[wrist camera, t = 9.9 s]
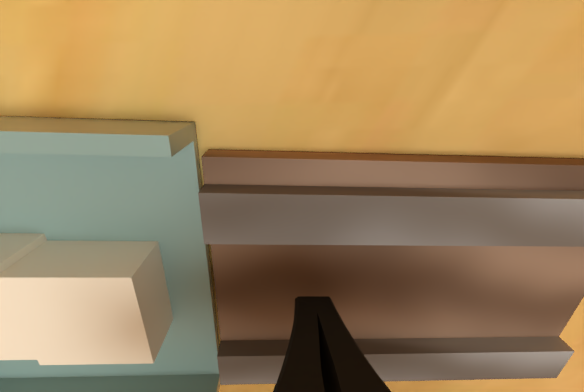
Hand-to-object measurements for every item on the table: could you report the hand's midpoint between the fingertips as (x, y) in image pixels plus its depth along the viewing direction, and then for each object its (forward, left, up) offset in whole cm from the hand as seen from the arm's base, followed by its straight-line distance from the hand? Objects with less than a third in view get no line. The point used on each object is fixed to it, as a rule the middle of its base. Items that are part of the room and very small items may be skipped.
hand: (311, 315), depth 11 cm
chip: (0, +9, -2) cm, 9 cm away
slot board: (0, -4, -2) cm, 5 cm away
